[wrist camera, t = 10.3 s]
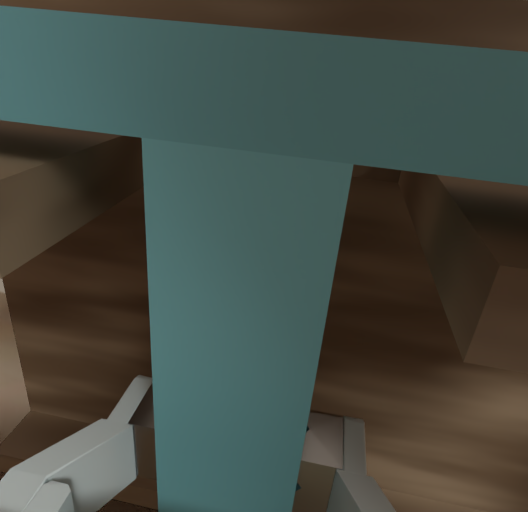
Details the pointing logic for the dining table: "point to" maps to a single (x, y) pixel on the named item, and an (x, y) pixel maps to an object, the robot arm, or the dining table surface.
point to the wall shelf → (343, 287)
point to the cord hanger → (254, 201)
